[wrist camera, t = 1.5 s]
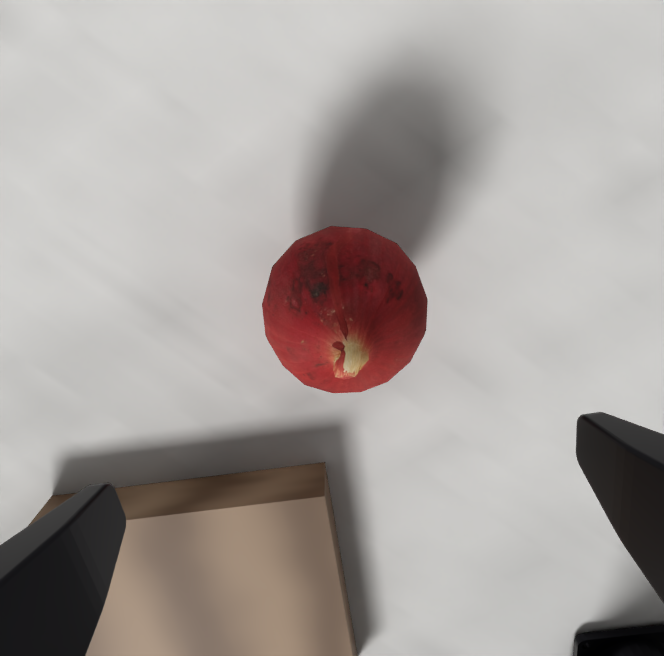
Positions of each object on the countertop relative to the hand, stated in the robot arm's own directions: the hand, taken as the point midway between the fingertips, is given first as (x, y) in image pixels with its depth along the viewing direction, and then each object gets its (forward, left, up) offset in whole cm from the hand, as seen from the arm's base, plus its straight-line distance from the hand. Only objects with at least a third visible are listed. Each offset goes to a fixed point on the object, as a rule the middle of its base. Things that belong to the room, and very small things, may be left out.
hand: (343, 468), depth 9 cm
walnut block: (+9, +16, -13) cm, 22 cm away
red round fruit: (0, 0, -12) cm, 12 cm away
